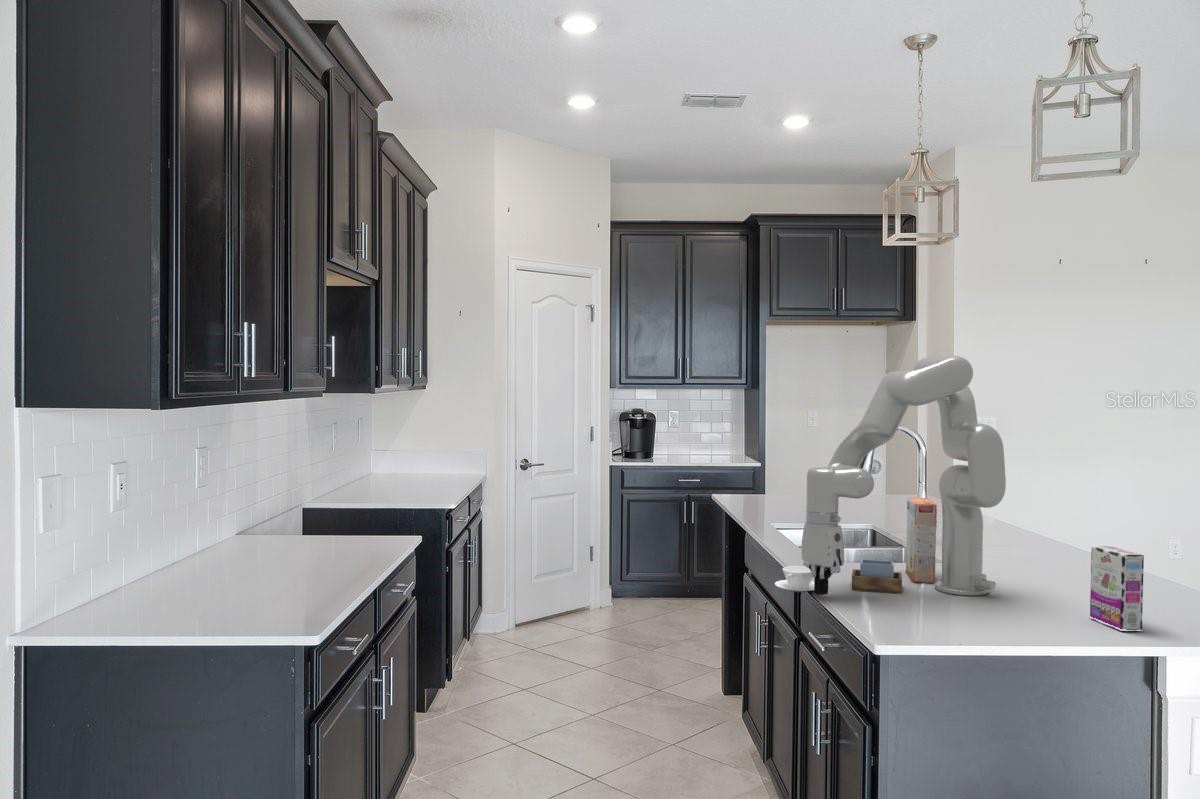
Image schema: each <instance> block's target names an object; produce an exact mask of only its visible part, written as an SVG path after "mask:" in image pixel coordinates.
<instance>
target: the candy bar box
mask: <svg viewBox="0 0 1200 799" xmlns="http://www.w3.org/2000/svg"><path fill="white" fill-rule="evenodd" d="M1144 558H1145V555H1143V554H1141V553H1136V552H1132V551H1129V550H1125V549H1121V548H1117V547H1113V546H1106V545H1105V546H1103V545H1102V546H1101V545H1099V546H1091V558H1090V598H1089V599H1090V604H1089V605H1090V606H1089V607H1090V608H1089V617H1090V616H1091V617H1093V618H1096V619H1098V620H1101V621H1103V622H1105V623H1108V624H1110V625H1113V626H1115V627H1118V628H1120V629H1126V630H1142V631H1143V604H1144V602H1143V601H1144V598H1143V596H1144V595H1143V593H1144V567H1145V565H1144V562H1145V560H1144Z"/></svg>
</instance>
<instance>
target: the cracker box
mask: <svg viewBox="0 0 1200 799" xmlns="http://www.w3.org/2000/svg"><path fill="white" fill-rule="evenodd" d="M906 504H907V507H906V548H905V549H906V551H905V573H906V574H907V575H908V577H909V578H910V579H911V581H912V582H913V583H925V584H935V583H936V582H935V581H936V550H937V549H936V548H937V547H936V546H937V544H936V543H937V518H938V517H937V514H938V513H937V511H938V507H937V506H938V505H937V504H936V503H935V502H933V501H932V500H931V499H929V498H926V497H907V502H906Z"/></svg>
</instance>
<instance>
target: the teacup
mask: <svg viewBox="0 0 1200 799" xmlns="http://www.w3.org/2000/svg"><path fill="white" fill-rule="evenodd" d="M782 572H783V574H784V577H785V579H783V580H781V579H780V580H777V581H776V582H774V585H775V586H776V587H777V588H781V589H784V590H789V591H790V592H794V593H795V592H796V593H807V592H810V591H814V581H813V579H814V577H813V576H812V572H811V570H810V569H809V568H807V567H806V566H804V565H803V566H802V565H801V566H800V565H790V566H784V567H783V568H782Z"/></svg>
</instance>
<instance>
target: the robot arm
mask: <svg viewBox="0 0 1200 799" xmlns="http://www.w3.org/2000/svg"><path fill="white" fill-rule="evenodd" d="M973 376H974V369H973V366H972V364H971V362H970V361H968V359H966V358H965V357H963V356H959V355H943V356H942V355H937V356H926V357H923V358H921V359H919V360H918V361H917V362H916V363H915V365H914V369H913V370H896V371H891V372H888V373H887V374H885V375H884V376H883V378H882V379H881V380H880V382H879V384H878V386H877V388H876V390H875V393H874V395H873V396H872V399H871V401H870V402H869V404H868V406H867V409H866V410H865V413H864V415H863V417H862V419H861V421H860V422H859V423H858V425H857V426H855V428H854V429H853V430H852V431H850V433H849V434H848V435H847V436H846V437H845V438H844V439H843V440H842V441H841V442H840V444H839V445H838V446H837V447H836V449H835V451H834V453H833V455H832V456H831V459H830V460H829V463H828V466H827V467H826V466H815V467H811V468H809V469H808V470H807V473H806V518H805V519H806V520H805V522H804V525H803V531H802V538H801V559H802V561H803V567H807V568H809V569H810V570H811V572H812V576H813V579H814V590H813V594H814V595H817V596H823V595H828V594H829V579H830V578H831V577H832V575H833V574H838V573H841V567H842V566H844V564H845V545H844V534H843V529H842V526H841V525H839V523H840V522H841V520H842V518H841V516H839V498H849V499H863V498H865V497H867V496H869V495H870V494H871V493H872V492H873V490H874V487H875V481H874V480H875V479H874V478H873V476H872V474H871V473H870V472H869V471H867V470H866V469H864V468H862V467H859V466H860V464H861V462H863V460H864V458H865V457H866V456H867V455H869V453H870V452H872V451H873V450H875V449H877V448H879V447H880V446H883V445H884V444H886V443H888V442H889V441H891V440H892V439H893V438H894V437H895V435H896V432H897V431H898V428H899V426H900V424H901V422H902V421H903V418H904V417H905V414H906V412H907V410H908V408H909V407H910V406H911V407H914V406H915V407H919V406H924V405H927V404H930V403H933V402H937V405H938V409H939V416H940V419H939V420H940V431H941V432H940V433H941V444H942V445H941V446H942V449H943V452H944V454H945V455H946V456H947V457H949V458H951V459H952V460H956V461H957V460H958V461H963V462H967V465H966V464H954V465H951V466H949V467H947V468H945V470H943V472H942V473H941V476H940V477H939V482H938V487H939V495H940V501H941V507H942V512H941V513H942V530H941V533H942V534H941V535H942V536H941V537H942V538H941V543H942V544H941V546H942V547H941V580H940V581H936V582H935V583H934V588H935V590H937V591H940V592H942V593H947V594H951V595H957V596H984V595H987V594H988V593H989V592H990V591H994V590H995V588H996V585H997V584H996V581H992V580H988V579H987V574H986V573H983V553H984V552H983V550H984V549H983V547H984V545H983V542H984V535H983V533H984V518H983V513H982V508H985V509H987V508H994V507H996V506H997V505H999V504H1000V503H1001V502H1002V500H1003V499H1004V497H1005V494H1006V487H1007V485H1006V484H1007V483H1006V482H1007V481H1006V467H1005V466H1006V465H1005V463H1006V462H1005V449H1004V443H1003V439H1002V437H1001V435H1000V433H999V432H998V431H997V429H995V428H994V427H993V426H990V425H987V424H984V423H978V416H977V407H976V401H975V397H974V394H973V392H972V391H971V389H970V387H969V385H970V383H971V382H972V379H973V378H974V377H973Z"/></svg>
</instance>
